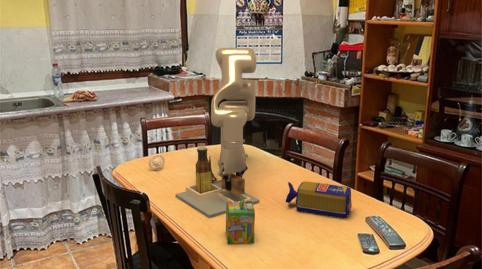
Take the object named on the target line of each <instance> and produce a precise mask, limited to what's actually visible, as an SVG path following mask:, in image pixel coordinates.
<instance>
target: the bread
mask: <svg viewBox="0 0 482 269" xmlns="http://www.w3.org/2000/svg"><path fill="white" fill-rule="evenodd" d="M287 185H288V189H289V192H288V193H287V195H286V199H285V203H288V204H290V203H291V202H292V201H293V200H294V199H295V203H294V204H295V208H296V211H297V212H301V213H306V214H313V215H314V214H315V215H318V216H319V215H320V216H326V217H331V216H332V218H337V217H339V218H338V219H344V218H346V219H347V218H348V216H350V215H349V214H350V212H351V209H352V207H353V205H352V204H353V203H352V190H351V187H348V186H344V185H335V184H331V183H330V184H328V183H322V182H315V181H313V182H312V181H302V182H301V183H300V184H299V186H298V188H297V190H295V189H294V185H293V184H292V183H291V182H290V181H287Z"/></svg>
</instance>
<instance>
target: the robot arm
mask: <svg viewBox="0 0 482 269" xmlns="http://www.w3.org/2000/svg"><path fill="white" fill-rule="evenodd" d="M215 59H216V62H217V64H218V66H219V68H220V71H221V87H220V88H218V90H216V92H215V93H214V94H213V97H212V98H211V104H210V120H211V121H210V122H211V124H212V125H213V126H214V127H216V128H220V155H219V160H217V165H218V166H219V168H218V169H219V171H218V173H217V176H218V177H220V176H221V177H222V178H223V179H224V180H225V189H227V190H229V191H231V181H230V177H231V174H232V173H233V174H235V175H237V176H239V177H241V178H243V175H245V173H246V172H247V171H248V166H247V164H246V162H247V161H246V158H248V153H246V152H245V151H246V150H245V146H244V143H245V142H246V141H245V139H244V134H243V133H244V126H245V124H246V123H247V121H252V120H254V119H255V115H256V92H257V91H256V83H255V82H254V81H253V80H251V79H243V74H253V73H255V72H256V69H257V55H256V53H255V50H254V49H253V48H251V47H221V48H218V49H217V50H216V51H215ZM223 100H226V101H223ZM221 101H222V102H221ZM220 102H221V103H220ZM227 175H228V176H227ZM221 177H220V178H221ZM222 178H221V179H222Z"/></svg>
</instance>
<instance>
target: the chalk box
mask: <svg viewBox="0 0 482 269" xmlns="http://www.w3.org/2000/svg"><path fill="white" fill-rule="evenodd" d="M255 219H256V213H255V207H254V204H253V203H252V201H244V197H243V195H242V198H241V201H240V202H226V213H225V235H226V242H227V245H234V244H235V245H237V244H238V245H239V244H241V245H242V244H255V225H256V224H255Z"/></svg>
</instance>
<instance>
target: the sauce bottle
mask: <svg viewBox="0 0 482 269" xmlns="http://www.w3.org/2000/svg"><path fill="white" fill-rule="evenodd" d="M196 153H197V161H196V163H195V182H196V186H197V192H198V193H200V194H202V193H206V192H209V191H212V179H211V169H212V166H211V167H210V164H209V157H208V148H207V147H205V146H199V147H197V149H196Z"/></svg>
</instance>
